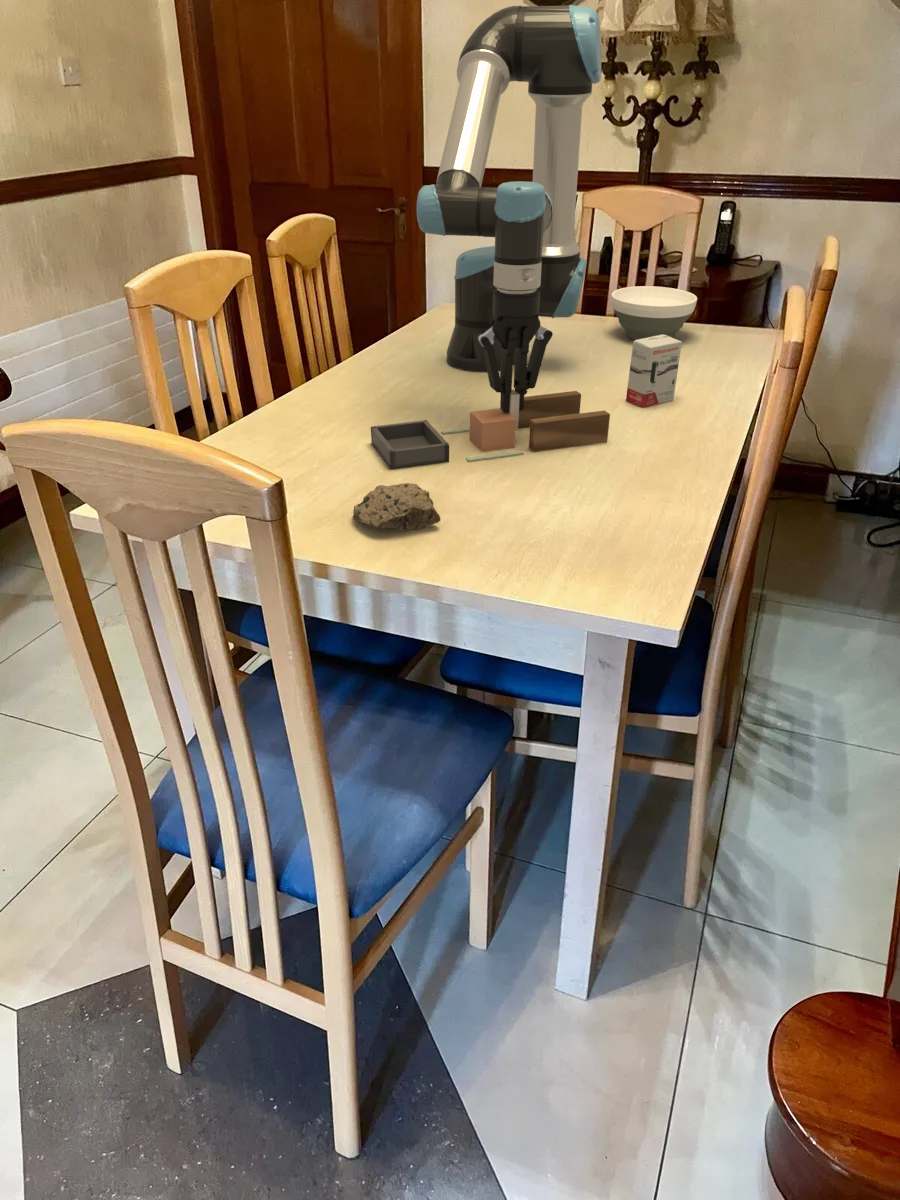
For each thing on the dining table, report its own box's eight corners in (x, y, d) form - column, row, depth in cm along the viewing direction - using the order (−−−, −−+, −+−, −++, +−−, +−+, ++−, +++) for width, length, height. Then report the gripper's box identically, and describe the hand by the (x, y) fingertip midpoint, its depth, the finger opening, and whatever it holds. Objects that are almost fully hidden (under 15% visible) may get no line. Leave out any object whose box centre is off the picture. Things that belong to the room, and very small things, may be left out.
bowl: (699, 349, 206) (706, 306, 201) (613, 348, 206) (618, 305, 201) (681, 326, 223) (687, 286, 218) (602, 325, 223) (606, 285, 218)
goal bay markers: (440, 432, 161) (440, 430, 161) (492, 425, 164) (492, 424, 164) (468, 461, 149) (468, 460, 149) (524, 454, 152) (524, 452, 152)
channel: (504, 425, 164) (505, 398, 161) (574, 416, 168) (576, 390, 165) (533, 451, 153) (535, 423, 151) (607, 441, 157) (610, 414, 155)
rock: (349, 508, 135) (347, 481, 133) (425, 500, 137) (425, 473, 135) (361, 541, 126) (360, 512, 123) (443, 532, 128) (443, 503, 126)
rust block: (469, 439, 158) (470, 411, 156) (501, 435, 160) (502, 407, 157) (481, 451, 153) (482, 423, 151) (514, 447, 155) (515, 419, 152)
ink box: (642, 408, 172) (650, 346, 166) (624, 401, 176) (631, 340, 169) (674, 400, 176) (683, 339, 170) (656, 393, 180) (664, 333, 173)
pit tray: (371, 443, 156) (370, 426, 155) (426, 436, 159) (426, 420, 158) (390, 469, 147) (390, 452, 145) (449, 461, 149) (449, 444, 148)
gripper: (487, 297, 140) (484, 441, 152) (563, 290, 144) (554, 431, 156) (470, 286, 146) (468, 426, 158) (543, 280, 150) (536, 417, 162)
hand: (511, 428), depth 157 cm, fingers closed
